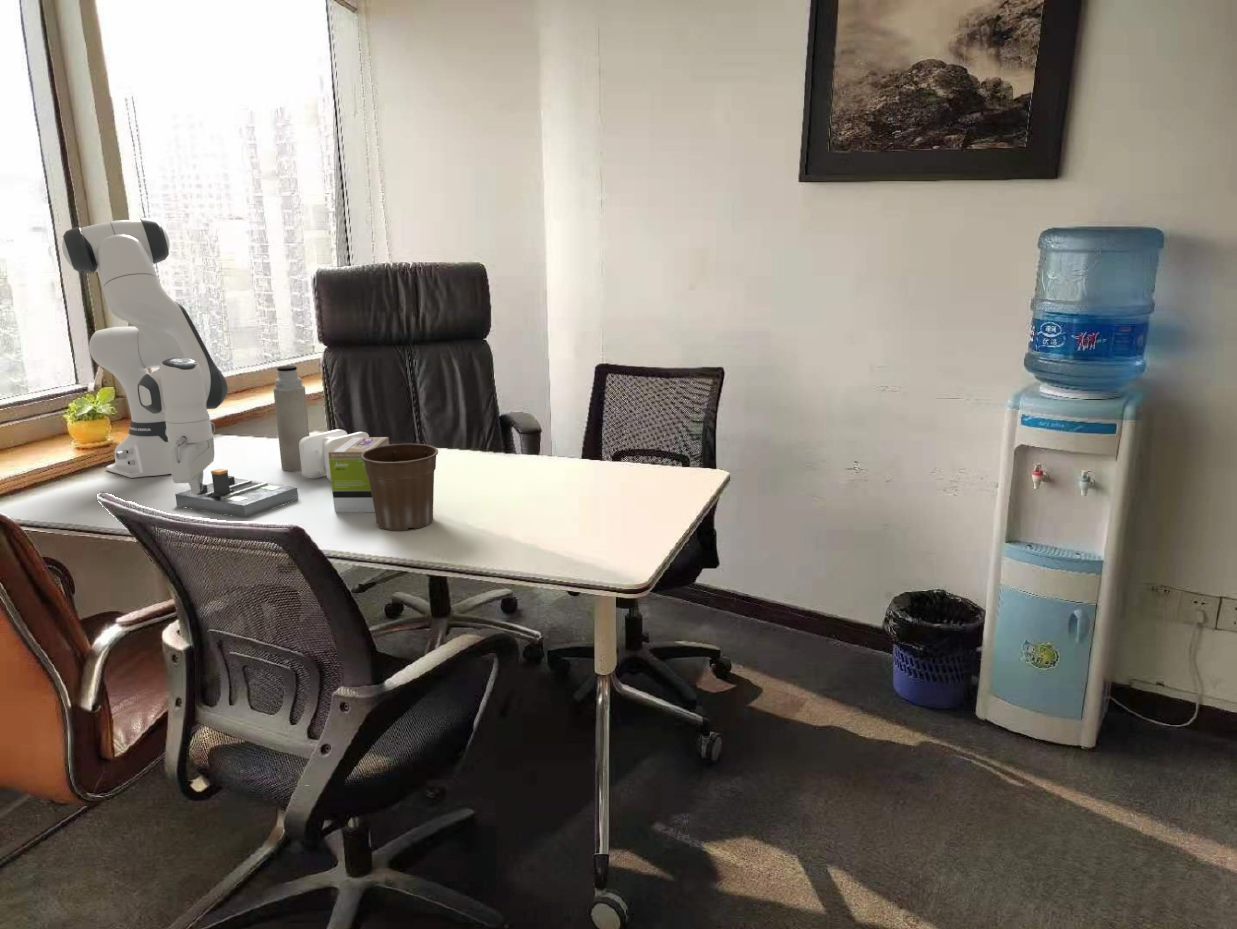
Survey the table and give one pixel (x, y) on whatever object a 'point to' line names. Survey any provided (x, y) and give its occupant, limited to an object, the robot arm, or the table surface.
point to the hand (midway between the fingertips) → (197, 491)
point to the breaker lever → (220, 482)
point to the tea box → (352, 474)
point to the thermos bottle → (290, 416)
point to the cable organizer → (321, 451)
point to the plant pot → (401, 484)
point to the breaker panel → (239, 498)
